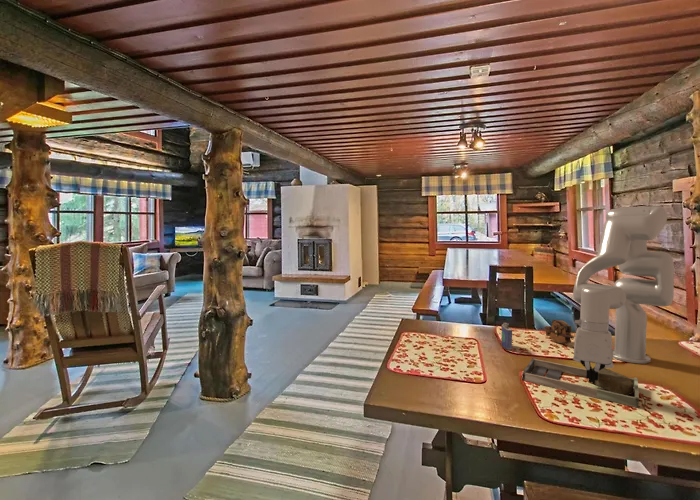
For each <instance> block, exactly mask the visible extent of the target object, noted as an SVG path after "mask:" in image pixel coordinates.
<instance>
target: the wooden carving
mask: <svg viewBox="0 0 700 500" xmlns="http://www.w3.org/2000/svg"><path fill="white" fill-rule="evenodd" d="M544 332H545V336H546V337H550V339H551V340H552V341H553V342H555V343H557V344H565V345H567V344H570V343H572V340H571V339H575V336H574V335H572V333H571V332H572V326H571V325H569V324H568V323H567V322H566V321H565V320H562V319H561V320H557V319H552V321H551V325H550V326H549V325H545V326H544Z"/></svg>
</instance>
